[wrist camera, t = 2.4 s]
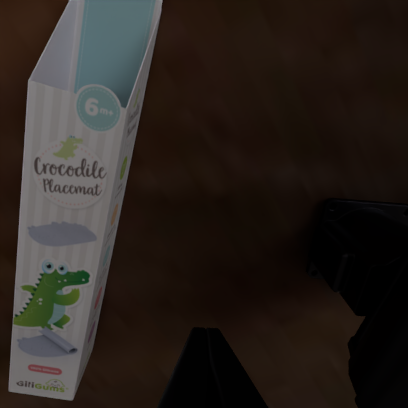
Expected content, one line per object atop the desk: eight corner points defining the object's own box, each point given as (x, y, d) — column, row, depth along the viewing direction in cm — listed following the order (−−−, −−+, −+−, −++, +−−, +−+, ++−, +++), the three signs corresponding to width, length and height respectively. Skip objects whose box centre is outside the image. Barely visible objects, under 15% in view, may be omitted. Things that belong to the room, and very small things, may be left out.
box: (39, 340, 24) (85, -68, 14) (92, 349, 24) (171, -36, 15) (8, 391, 20) (42, -134, 10) (72, 401, 20) (163, -86, 11)
